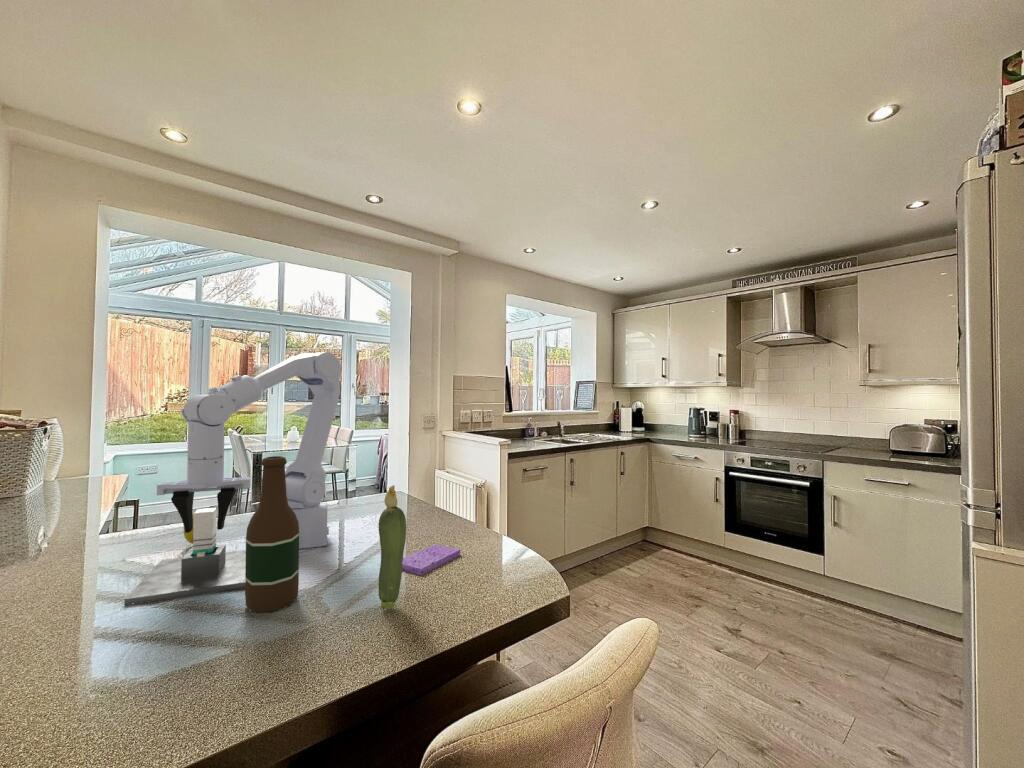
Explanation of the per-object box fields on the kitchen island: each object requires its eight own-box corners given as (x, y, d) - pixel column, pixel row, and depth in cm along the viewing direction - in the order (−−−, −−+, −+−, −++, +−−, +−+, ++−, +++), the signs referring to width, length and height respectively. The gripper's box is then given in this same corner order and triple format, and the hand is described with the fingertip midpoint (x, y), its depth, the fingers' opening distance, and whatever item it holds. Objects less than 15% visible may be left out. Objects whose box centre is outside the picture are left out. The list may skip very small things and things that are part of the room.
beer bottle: (308, 596, 76) (310, 455, 76) (270, 618, 68) (272, 462, 69) (273, 589, 78) (275, 453, 79) (233, 609, 71) (235, 459, 71)
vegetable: (381, 601, 74) (382, 481, 74) (407, 600, 74) (408, 480, 75) (375, 614, 70) (376, 486, 70) (403, 613, 70) (404, 486, 70)
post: (216, 549, 86) (216, 507, 86) (212, 554, 83) (213, 511, 83) (196, 551, 85) (197, 509, 85) (192, 556, 82) (193, 513, 82)
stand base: (264, 552, 96) (264, 528, 96) (251, 586, 79) (252, 558, 79) (161, 564, 89) (162, 539, 89) (124, 605, 72) (125, 573, 72)
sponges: (394, 570, 88) (394, 561, 88) (435, 550, 99) (435, 542, 99) (420, 578, 84) (421, 568, 84) (460, 557, 95) (461, 548, 95)
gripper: (151, 463, 78) (149, 541, 77) (246, 458, 83) (245, 531, 83) (164, 457, 84) (163, 529, 84) (252, 453, 90) (251, 520, 90)
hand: (204, 529), depth 84 cm, fingers open, 4 cm apart
